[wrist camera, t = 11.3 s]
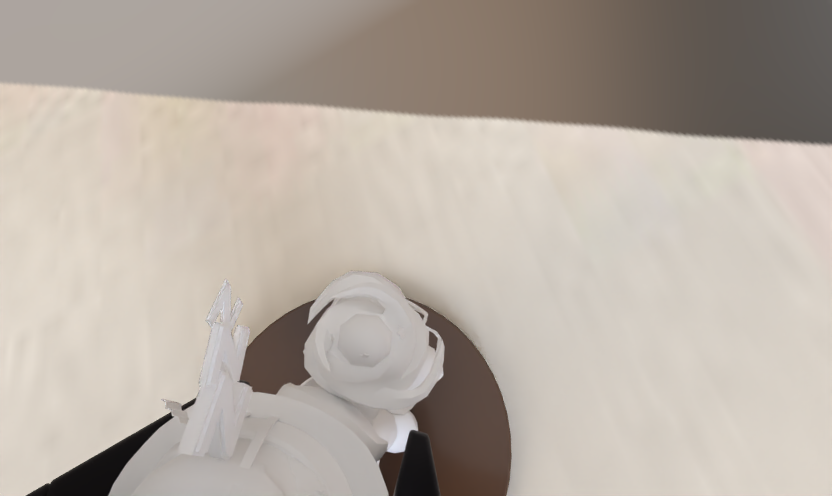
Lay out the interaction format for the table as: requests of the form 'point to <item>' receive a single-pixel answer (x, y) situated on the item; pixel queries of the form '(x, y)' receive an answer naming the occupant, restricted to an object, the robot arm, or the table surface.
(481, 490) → the coaster
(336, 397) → the hat wearing toy figure
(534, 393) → the table surface
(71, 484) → the robot arm
